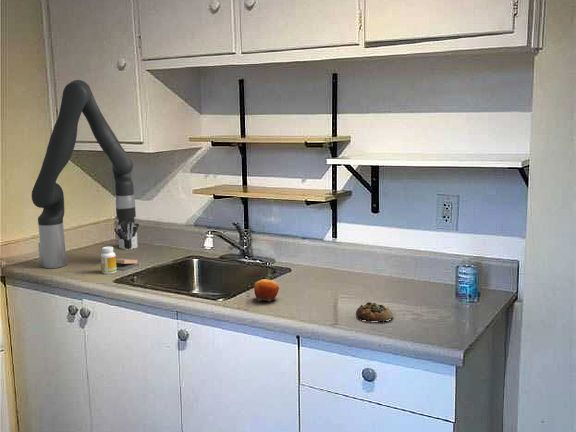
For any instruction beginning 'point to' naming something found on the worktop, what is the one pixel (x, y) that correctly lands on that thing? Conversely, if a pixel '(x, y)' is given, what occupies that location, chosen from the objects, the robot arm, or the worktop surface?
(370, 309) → the bread roll
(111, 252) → the supplement bottle
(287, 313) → the worktop surface
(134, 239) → the skincare box
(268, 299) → the fruit
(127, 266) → the mat
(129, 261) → the tile
